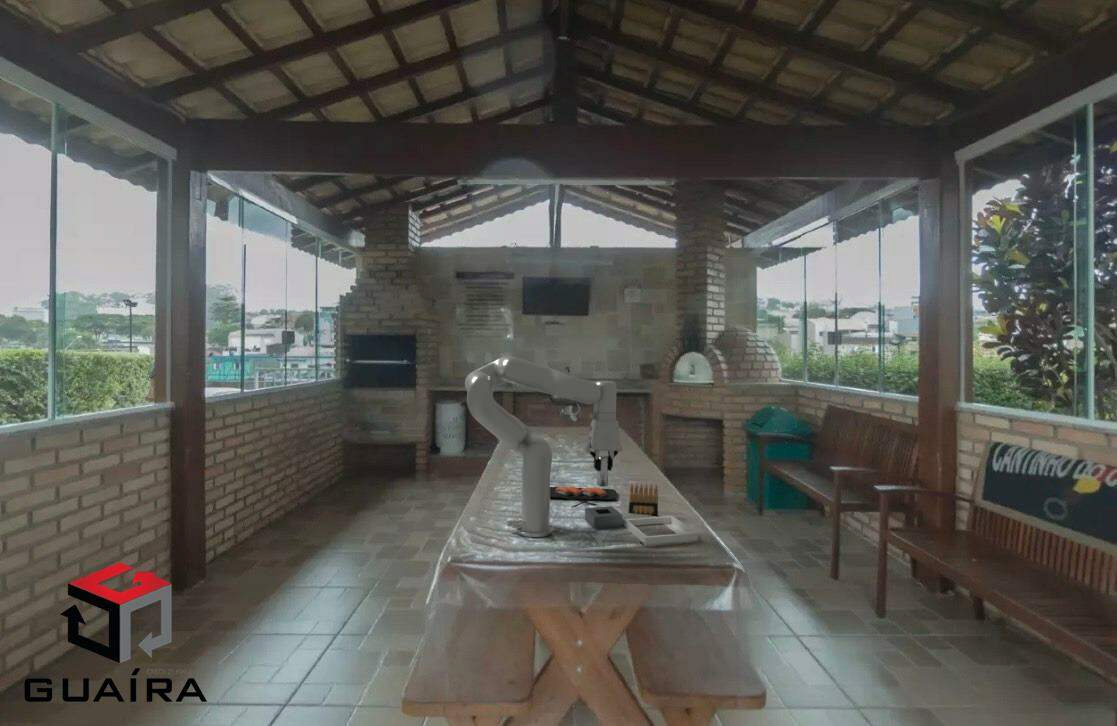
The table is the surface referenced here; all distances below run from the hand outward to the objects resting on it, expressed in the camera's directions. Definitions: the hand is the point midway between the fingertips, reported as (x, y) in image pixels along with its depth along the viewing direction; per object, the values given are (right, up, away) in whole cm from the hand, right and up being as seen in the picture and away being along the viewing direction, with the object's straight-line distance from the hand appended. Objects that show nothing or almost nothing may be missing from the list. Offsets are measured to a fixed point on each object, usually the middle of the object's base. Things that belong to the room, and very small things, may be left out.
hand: (603, 469), depth 200 cm
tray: (+18, -20, -7) cm, 28 cm away
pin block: (0, -20, +1) cm, 20 cm away
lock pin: (0, -5, 0) cm, 5 cm away
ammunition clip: (+16, -19, +13) cm, 28 cm away
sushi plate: (-7, -19, +30) cm, 36 cm away
